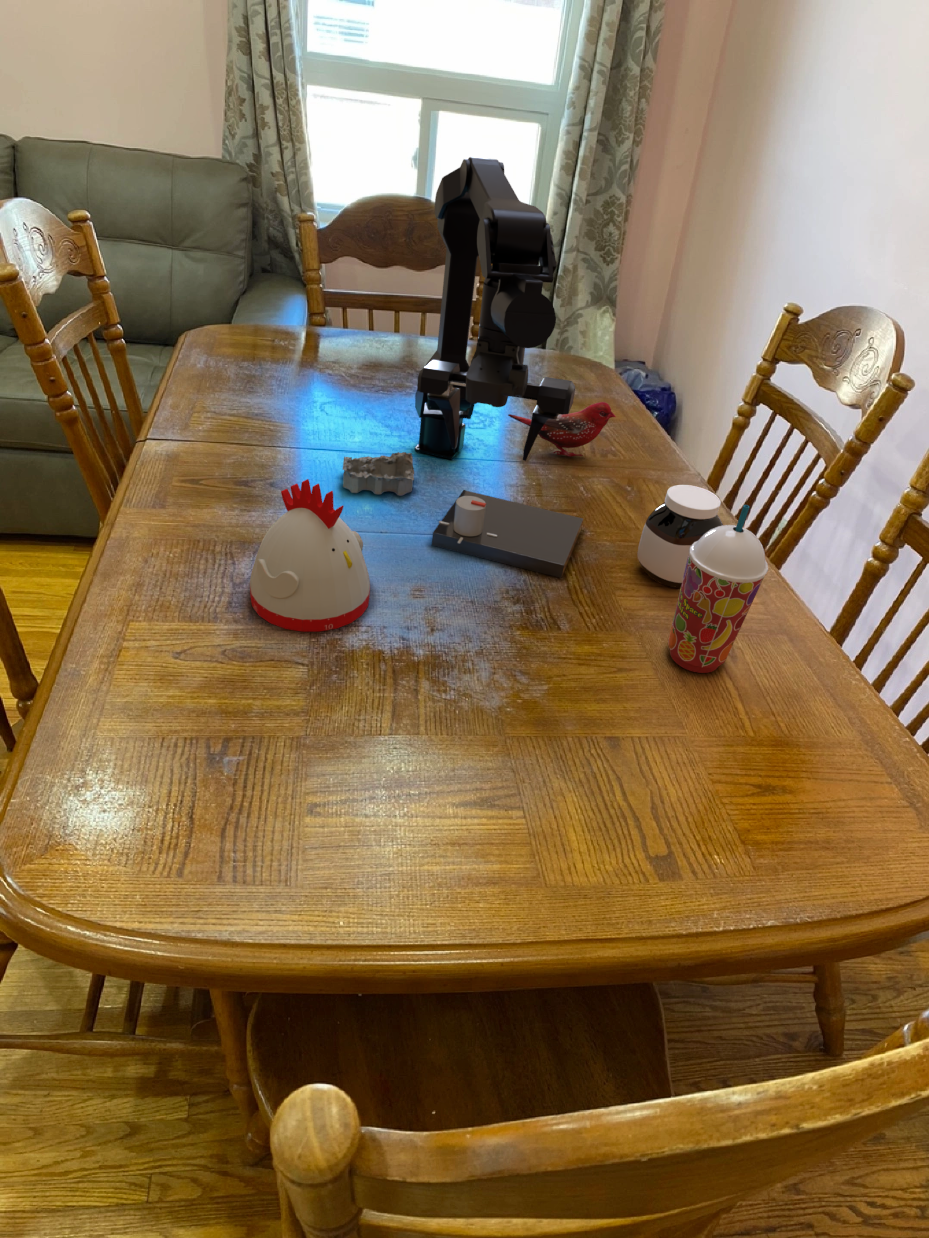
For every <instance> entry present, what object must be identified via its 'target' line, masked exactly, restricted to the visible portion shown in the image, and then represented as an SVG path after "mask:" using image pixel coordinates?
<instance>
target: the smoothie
mask: <svg viewBox="0 0 929 1238" xmlns="http://www.w3.org/2000/svg"><path fill="white" fill-rule="evenodd" d="M749 510H750V505H748V504H743V506H742V509H741V512H740V515H739V517H738V519H737V523H736V525H735V524H723V526H718V527H716V528H713V529H711V530H709V531H708V532H706V533H705V534H704V535H703V536H702V537H701V538H700V539H699V540H698V541H696V542H694V543H693V544H692V545H691V547H690V549H689V555H688V559H687V563H686V568H685V572H684V576H683V580H682V585H681V588H679V593H678V597H677V602H676V607H675V611H674V613H673V614H674V615H673V618H672V619H673V620H672V624H671V627H670V630H669V635H668V641H667V646H668V648H669V654H670V657H671V659H672V661H674V662H675V663H676V665H678V666H679V667H681V668H683V669H685V670H687V671H690V672H694V673H697V674H698V673H699V674H708V673H712V672H714V671H716V670H717V669H718V667H720V666H722V665H723V664H725V662H726V660H727V658H728V656H729V655H730V652H731V650H732V647H733V645H734V644H735V641H736V639H737V637H738V635H739V632H740V631H741V628H742V627H743V624H744V621H745V620H746V617H747V615H748V613H749V611H750V609H751V606H752V604H753V602H754V600H755V598H756V597H757V596H756V595H757V594H758V592H759V589H760V587H761V585H762V583H763V581H764V578H765V576H766V575H767V573H768V572H769V564H768V562H767V560H766V554H765V549H764V546H763V544H762V542H761V541H760V539H759V538H758V536H756V535H755V534H754V533H753V532H752V531H751V530H749V529H747V528H745V527H744V525H745V522H746V519H747V515H748V513H749Z"/></svg>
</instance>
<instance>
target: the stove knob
mask: <svg viewBox="0 0 929 1238" xmlns="http://www.w3.org/2000/svg"><path fill="white" fill-rule="evenodd" d="M455 501H456V507H455V515H454V524H453V529H454V531H455V532H456V533H458V534H460V535H463V536H477V535H480V534H481V533H482V531H483V524H484V517H485V510H486V503H485V501H484V500H482V499H480V498H478V497H474V496H463V497H460V498H458V497H457V498H456V500H455Z"/></svg>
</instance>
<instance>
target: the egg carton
mask: <svg viewBox="0 0 929 1238" xmlns="http://www.w3.org/2000/svg"><path fill="white" fill-rule="evenodd" d="M341 470H342V471H343V474H342V476H343V477H342V478H343V479H342V480H343V481H342V483H343V484H342V487H343V488H344V489H346V490H348V491H350V493H351V494H358V493H359V492H362V491H370V492H373V494H374V495H382V494H383V493H385V492H392V493H395V494H396V495H397V496H398V497H399V496H405V495H406V494H410V493H411V492H412V491H413V484H414V480H415V478H414V477H415V468H414V459H413V453H412V452H406V451H403V452H392V453H391V455H390V456H387V455H380V456H375V457H374V456H373V457H371V456H362V457H358V458H357V457H354V458H353V457H352V456H343V462H342V469H341Z"/></svg>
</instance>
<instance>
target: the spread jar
mask: <svg viewBox="0 0 929 1238" xmlns="http://www.w3.org/2000/svg"><path fill="white" fill-rule="evenodd" d="M721 505H722V502H721V499H720V498H719V497H718V495H716V494H715V493H714V492H712V491H710V490H708V489H706V488H703V487H700V486H696V485H691V484H676V485H672V486H670V487H669V488H668V489H667V491H666V494H665V498H664V502H662V503H661V504H659V505H658V506H657V507H656V508H655V509H654V510H653V511H652V512H651V513H650V514H649V515H648V517H647V518H646V520H645V522H644V525H643V528H642V532H641V535H640V539H639V542H638V547H637V552H636V553H637V554H636V555H637V557H636V558H637V561H638V563H639V566H640V567H641V568H642V570H643V571H644V572H645V574H647V575H648V576H649V578H651V580H653V581H655V582H656V583H658V584H661V585H662V586H666V587H671V588H676V589H677V588H678V589H681V585H682V580H683V576H684V572H685V568H686V563H687V559H688V555H689V549H690V547H691V545H692V544H693V543H694V542H696V541H698V540H699V539H700V538H701V537H702V536H703V535H704V534H705V533H706V532H708V531H709V530H711V529H713V528H716V527H718V526H723V525H724V524H723V522H722V520H721V518H720V517H719V515H718V514H719V510H720V507H721Z"/></svg>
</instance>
